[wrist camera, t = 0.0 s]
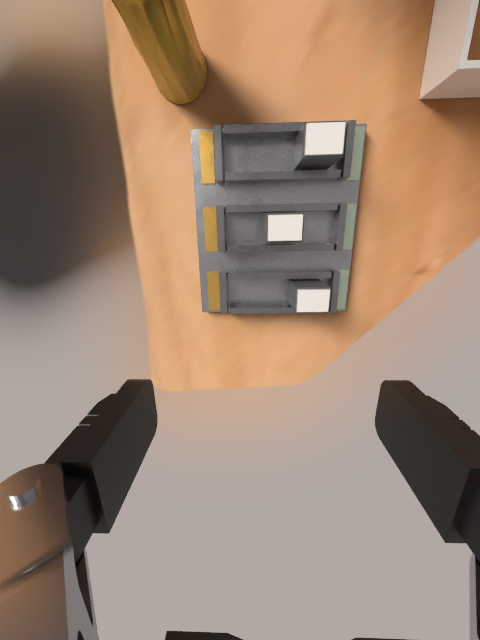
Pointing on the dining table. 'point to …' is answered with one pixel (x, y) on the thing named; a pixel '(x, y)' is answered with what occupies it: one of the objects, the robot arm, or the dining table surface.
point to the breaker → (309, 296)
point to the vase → (166, 45)
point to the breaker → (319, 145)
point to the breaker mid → (283, 227)
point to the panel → (271, 197)
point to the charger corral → (451, 52)
